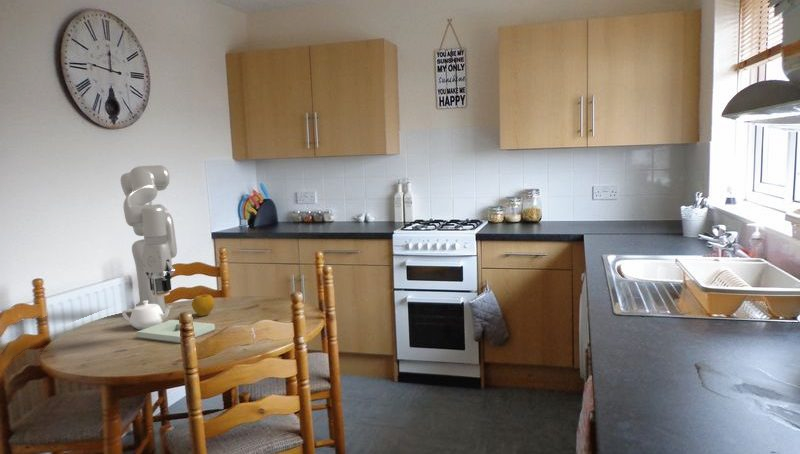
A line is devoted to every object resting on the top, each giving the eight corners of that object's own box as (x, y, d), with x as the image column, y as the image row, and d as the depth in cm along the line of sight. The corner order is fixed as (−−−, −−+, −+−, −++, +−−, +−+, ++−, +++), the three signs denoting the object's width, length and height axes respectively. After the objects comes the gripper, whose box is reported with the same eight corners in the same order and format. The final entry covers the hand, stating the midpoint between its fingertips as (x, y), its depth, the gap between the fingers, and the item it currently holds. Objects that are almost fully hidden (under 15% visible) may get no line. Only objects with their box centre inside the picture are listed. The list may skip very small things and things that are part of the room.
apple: (206, 319, 230) (204, 297, 229) (188, 318, 233) (185, 296, 232) (220, 312, 239) (218, 291, 238) (202, 312, 242) (200, 291, 241)
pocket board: (137, 338, 209) (136, 331, 209) (172, 325, 224) (171, 319, 223) (181, 343, 200) (181, 337, 199) (215, 330, 214) (214, 323, 214)
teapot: (181, 320, 231) (178, 295, 229) (167, 329, 218) (164, 303, 217) (132, 322, 231) (129, 298, 230) (116, 332, 219) (113, 306, 218)
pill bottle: (172, 293, 211) (170, 266, 209) (164, 297, 205) (161, 269, 204) (158, 293, 211) (155, 267, 210) (149, 297, 206) (146, 270, 205)
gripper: (130, 241, 207) (136, 291, 209) (163, 243, 198) (169, 294, 201) (148, 238, 213) (153, 286, 215) (181, 239, 205) (186, 289, 207)
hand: (161, 289), depth 208 cm, fingers closed on pill bottle, 5 cm apart
